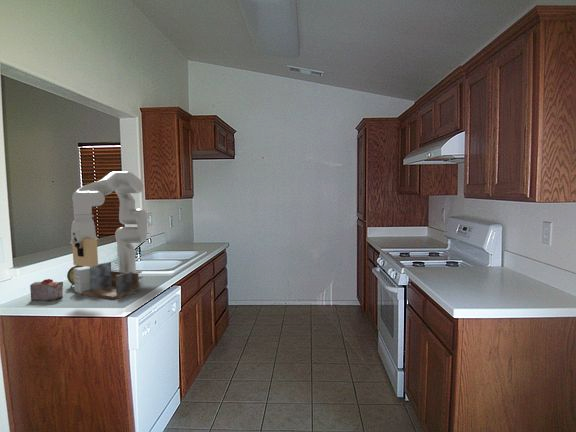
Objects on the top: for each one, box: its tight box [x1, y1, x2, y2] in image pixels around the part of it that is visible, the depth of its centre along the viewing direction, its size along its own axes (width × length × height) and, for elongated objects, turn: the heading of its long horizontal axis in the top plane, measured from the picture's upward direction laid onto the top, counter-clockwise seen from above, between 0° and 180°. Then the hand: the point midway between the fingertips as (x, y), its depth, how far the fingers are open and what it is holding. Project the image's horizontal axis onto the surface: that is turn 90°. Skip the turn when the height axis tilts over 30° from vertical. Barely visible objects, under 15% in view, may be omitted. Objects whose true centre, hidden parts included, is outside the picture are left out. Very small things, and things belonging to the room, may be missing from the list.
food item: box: [29, 278, 64, 302], centre depth 179 cm, size 14×8×10 cm, turn 92°
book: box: [71, 238, 99, 267], centre depth 175 cm, size 4×12×13 cm, turn 66°
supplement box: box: [74, 266, 91, 295], centre depth 193 cm, size 7×7×13 cm
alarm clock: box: [66, 265, 85, 288], centre depth 203 cm, size 11×5×16 cm, turn 106°
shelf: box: [82, 261, 140, 301], centre depth 189 cm, size 16×22×14 cm
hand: (85, 255), depth 176 cm, fingers closed on book, 4 cm apart
